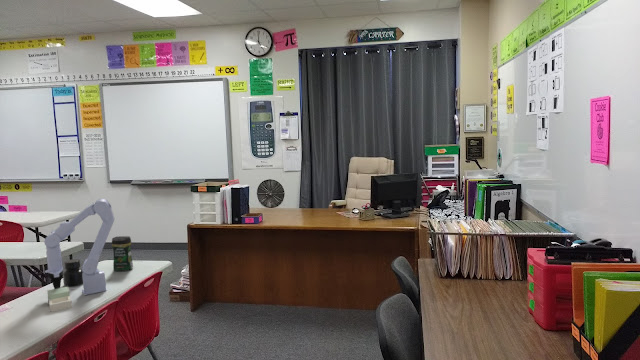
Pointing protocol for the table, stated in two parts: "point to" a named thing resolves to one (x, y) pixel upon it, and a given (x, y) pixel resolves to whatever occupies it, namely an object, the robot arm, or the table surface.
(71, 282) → the ink bottle
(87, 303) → the table surface
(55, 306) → the dish
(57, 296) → the lid
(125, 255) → the coffee jar
